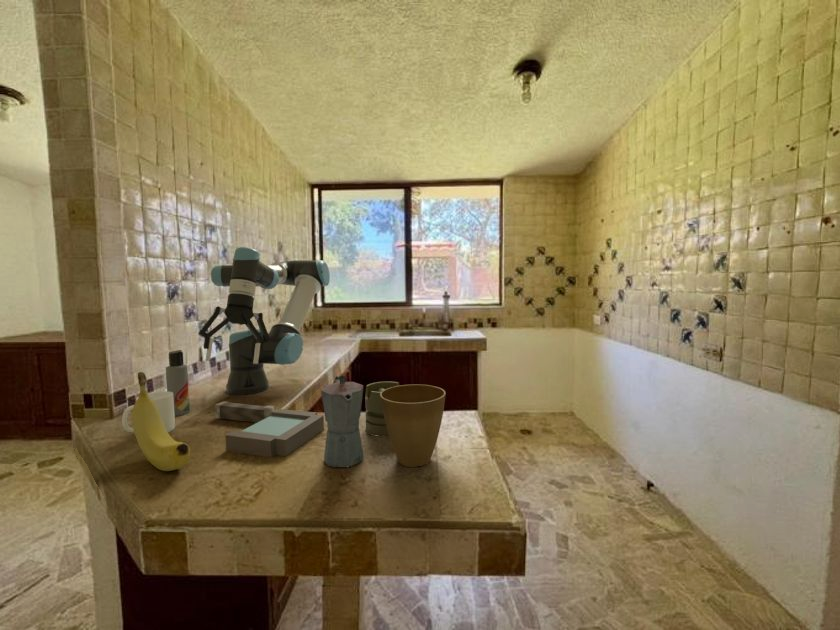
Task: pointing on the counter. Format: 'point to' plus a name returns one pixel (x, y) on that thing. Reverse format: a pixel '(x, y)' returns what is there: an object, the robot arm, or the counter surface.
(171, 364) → the lotion bottle
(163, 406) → the cup
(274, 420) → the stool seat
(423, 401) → the plant pot
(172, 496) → the counter surface
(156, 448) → the banana
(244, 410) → the folding leg
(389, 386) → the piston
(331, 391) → the moka pot
